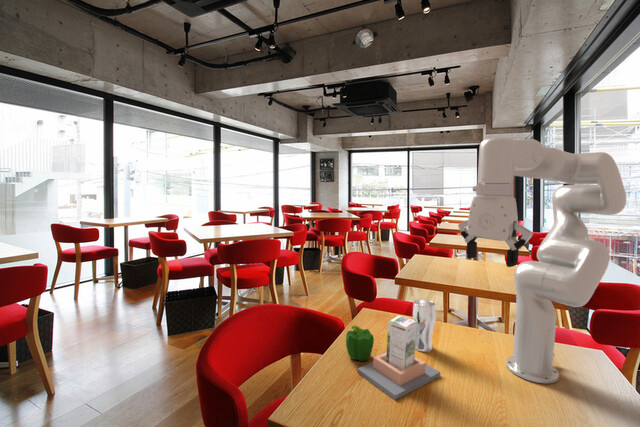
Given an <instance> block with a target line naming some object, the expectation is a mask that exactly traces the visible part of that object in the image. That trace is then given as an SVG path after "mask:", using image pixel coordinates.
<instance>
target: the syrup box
mask: <svg viewBox="0 0 640 427" xmlns="http://www.w3.org/2000/svg"><path fill="white" fill-rule="evenodd" d="M386 337H387V338H386V352H387V356H386V362H387V363H388V364H390V365H392V366H393V367H395V368H396V369H398V370H400V371H401V370H403V369H405V368H407V367H410V366H412V365H414V357H415V355H416V354H415V353H416V349H415V338H416V321H414V320H413V318H409V317H406V316H402V315H397V316H395V317H394V318H391V319H390V320H389V321H388V322H387V336H386Z"/></svg>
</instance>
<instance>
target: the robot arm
mask: <svg viewBox="0 0 640 427" xmlns="http://www.w3.org/2000/svg"><path fill="white" fill-rule="evenodd" d="M477 169H478V171H477V184H476V185H474V186H473V187H472V192H475V193H476V196H473V197H472V199H471V203H470V206H469V207H470V208H469V213H468V219H467V220H465V221H462V222H460V223H458V228H459V231H460V235H461V237H462V238H463V239H464V242H465V243H466V258H467V259H469V260H470V259H475V258H477V251H478V250H477V249H478V242H477V241H476V240H477V239H486V240H492V241H499V242H500V241H501V242H505V243H506V245H507V246H508V247H509V248H508V249H507V251H506V263H505V265H506V267H508V268H512V267H515V266H516V265H517V266H516V268H515V270H514V274H513V279H514V281H513V282H514V286H515V293H516V294H515V297H516V304H515V305H516V307H515V322H514V334H513V336H514V337H513V349H512V356H509V357H508V358H506V362H505V364H506V365H505V366H506V368H508V370H509V371H510V372H512V374H514V375H516V376H518V377H520V378H522V379H524V380H527V381H530V382H533V383H538V384H554V383H556V382H558V381H559V377H560V373H559V371H558V370H557V369H556V368H555V367H554V365H553V364H554V357H555V340H556V339H555V338H556V327H557V311H556V309H555V307H554V305H553V302H554V303H558V304H561V305H565V306H568V307H569V306H570V307H572V308H580V307H581V308H582V307H583V306H586V304H588V302H589V301H590V299H591V298H592V297H593V295H594V293H595V291H596V289H597V287H598V286H599V284H600V282H601V281H602V279H603V277H604V276H605V273H606V271H607V269H608V266H609V264H610V251H609V248H608V247H607V246H606V245H605V244H604V243H602V242H600V241H597V240H593V239H588V238H587V237H588V235H589V234H588V233H589V230H588V228H587V226H586V223H584V221H583V220H582V218H580V216H578V214H590V215H592V214H593V215H602V216H603V215H604V216H605V215H606V216H612V215H613V216H614V215H617V214H620V213H621V212H622V211H623V210H624V208H626V204H627V194H626V189H625V186H624V183H623V180H622V176H621V173H620V170H619V167H618V164H617V163H616V160H614V158H613V157H612V155H610V154H609V153H607V152H603V151H599V152H583V153H580V152H579V153H571V152H567V151H565V150H562V149H558V148H555V147H551V146H550V147H548V146H547V147H545V146H544V145H543V144H542V142H540V141H538V140H536V139H533V138H522V139H521V138H520V139H513V138H510V137H492V138H491V137H490V138H486V139H483V140H482V141H481V142H480V145H479V150H478V168H477ZM515 177H522V178H526V179H527V178H529V179H538V180H539V179H540V180H544V181H550V182H555V183H559V184H565V185H562V186H559V187H558V188H556V189H555V190H554V192H553V194H552V201H551V202H552V210H553V211H552V212H553V221H554V222H553V224H552V227H551V228H550V230H548V233H547V234H546V236H545V237H544V238H543V240H542V241H541V243H540V245H539V246H538V249H537V251H536V258H537V260H538V261H537V260H526V261H522V262H520V263H519V264H518V261H519V251H520V250H521V248H523V247H525V245H527V244H528V243H529V240H530V239H531V238H532V237H533V235H534V232H532V230H530V229H529V228H527V227H525V226H523V225H521V224H520V223H519V220H518V219H519V217H518V207H517V201H516V197H513V194H514V193H513V192H514V178H515ZM518 233H519V234H521V237H520V239H519V240H518V239H517V237H518Z"/></svg>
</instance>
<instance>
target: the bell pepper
mask: <svg viewBox="0 0 640 427" xmlns="http://www.w3.org/2000/svg"><path fill="white" fill-rule="evenodd" d="M351 329H352V330H348V331H347V332H346V334H345V346H346V350H347V355H348V356H349V357H350V358H351V360H355V361H356V360H358V361H360V362H364V361H368V359H369V358H371V354H372V350H373V347H374V341H375V337H374V335H373V334H372V333H371V331H370V329H368V328H365V329H362V328H361V327H359V326H358V325H356V324H355V325H351Z"/></svg>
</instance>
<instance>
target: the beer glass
mask: <svg viewBox="0 0 640 427" xmlns="http://www.w3.org/2000/svg"><path fill="white" fill-rule="evenodd" d="M412 320H414V321H416V338H415V351H418V352H422V353H430V352H432V351H433V350H434V349H433V348H434V347H433V342H432V337H433V332H434V329H435V323H436V303H435V302H434V301H432V300H429V299H424V298H422V299H421V298H419V299H416V300H414V301H413V306H412Z"/></svg>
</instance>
